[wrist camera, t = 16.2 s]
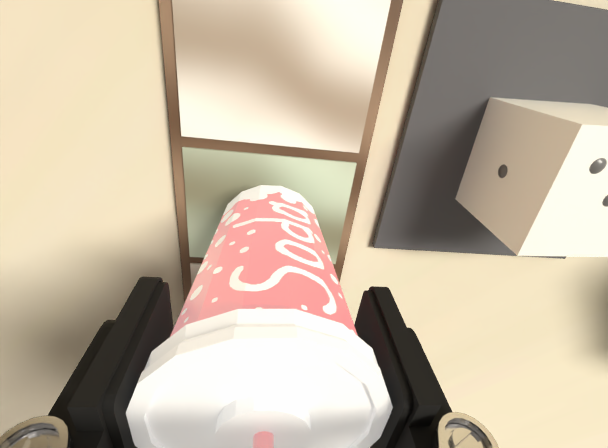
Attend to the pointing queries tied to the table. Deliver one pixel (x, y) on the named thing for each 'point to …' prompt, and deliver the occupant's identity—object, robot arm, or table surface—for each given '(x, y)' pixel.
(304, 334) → the beverage cup
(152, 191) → the table surface
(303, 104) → the track
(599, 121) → the die
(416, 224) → the mat
